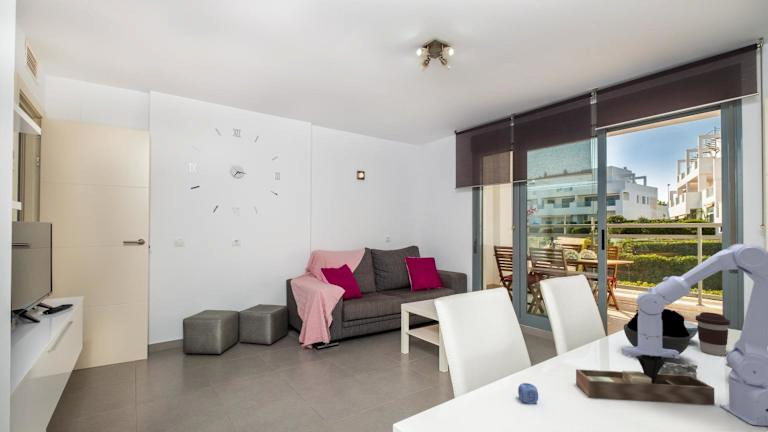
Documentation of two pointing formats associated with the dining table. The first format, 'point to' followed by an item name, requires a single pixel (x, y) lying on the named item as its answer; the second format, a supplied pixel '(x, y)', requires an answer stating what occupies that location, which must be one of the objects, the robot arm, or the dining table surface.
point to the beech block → (636, 377)
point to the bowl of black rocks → (663, 331)
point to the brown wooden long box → (645, 388)
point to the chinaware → (691, 328)
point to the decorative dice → (528, 393)
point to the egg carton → (679, 369)
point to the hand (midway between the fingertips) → (650, 381)
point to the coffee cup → (712, 333)
